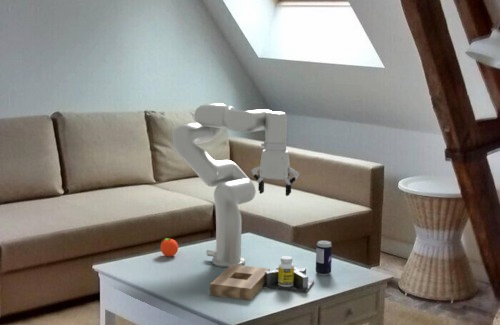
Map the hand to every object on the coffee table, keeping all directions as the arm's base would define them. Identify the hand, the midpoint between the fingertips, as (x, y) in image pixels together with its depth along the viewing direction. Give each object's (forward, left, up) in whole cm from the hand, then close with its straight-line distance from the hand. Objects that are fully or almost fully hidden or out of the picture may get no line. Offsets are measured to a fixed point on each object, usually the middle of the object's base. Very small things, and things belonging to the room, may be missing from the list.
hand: (274, 194), depth 266 cm
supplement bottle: (+8, -11, -30) cm, 32 cm away
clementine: (-45, +8, -31) cm, 55 cm away
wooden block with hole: (-7, -16, -30) cm, 35 cm away
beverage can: (+17, +8, -31) cm, 36 cm away
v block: (+8, -8, -30) cm, 32 cm away
